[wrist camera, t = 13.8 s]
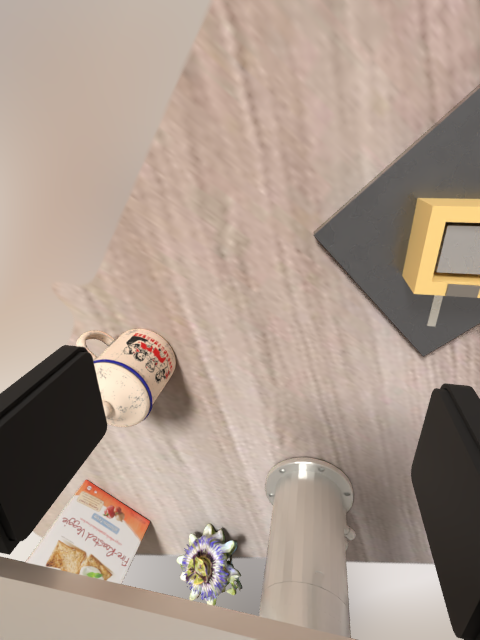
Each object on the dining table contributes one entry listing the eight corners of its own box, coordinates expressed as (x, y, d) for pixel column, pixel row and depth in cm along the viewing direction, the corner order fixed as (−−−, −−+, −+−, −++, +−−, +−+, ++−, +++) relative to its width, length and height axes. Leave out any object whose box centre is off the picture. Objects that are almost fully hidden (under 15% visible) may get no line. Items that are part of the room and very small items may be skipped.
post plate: (600, 240, 32) (649, 257, 27) (420, 349, 40) (433, 377, 35) (484, 79, 29) (517, 66, 24) (313, 231, 37) (312, 244, 32)
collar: (508, 199, 31) (541, 208, 26) (483, 280, 34) (509, 301, 30) (417, 198, 32) (433, 206, 28) (402, 275, 36) (414, 295, 31)
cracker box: (152, 519, 64) (84, 670, 45) (137, 533, 67) (67, 680, 48) (86, 476, 62) (-12, 614, 44) (74, 492, 65) (-23, 628, 47)
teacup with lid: (191, 361, 47) (156, 421, 37) (151, 394, 51) (108, 456, 41) (124, 296, 45) (66, 340, 35) (87, 335, 49) (25, 385, 39)
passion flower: (218, 499, 66) (229, 534, 55) (249, 545, 67) (267, 590, 55) (166, 539, 64) (166, 585, 52) (199, 586, 65) (206, 642, 53)
